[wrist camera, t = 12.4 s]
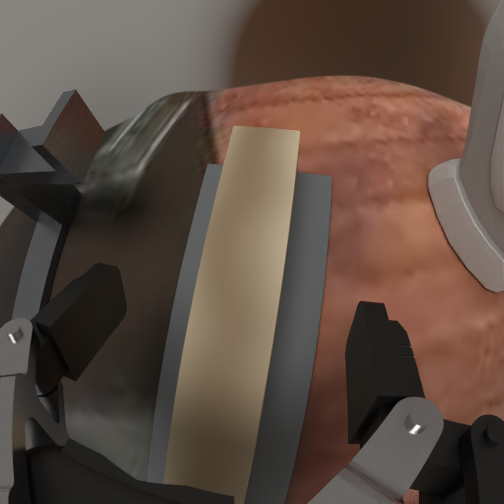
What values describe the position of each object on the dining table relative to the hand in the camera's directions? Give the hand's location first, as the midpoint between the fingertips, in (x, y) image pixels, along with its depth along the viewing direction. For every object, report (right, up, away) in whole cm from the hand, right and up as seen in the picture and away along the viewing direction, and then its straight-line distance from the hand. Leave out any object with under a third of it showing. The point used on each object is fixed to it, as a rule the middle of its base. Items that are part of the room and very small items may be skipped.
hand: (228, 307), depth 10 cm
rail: (0, -3, +6) cm, 7 cm away
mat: (0, -5, +6) cm, 8 cm away
